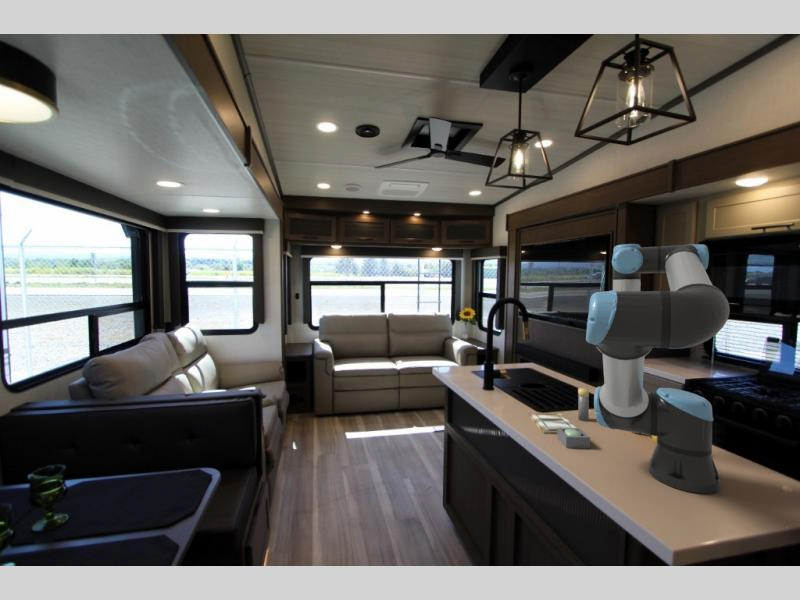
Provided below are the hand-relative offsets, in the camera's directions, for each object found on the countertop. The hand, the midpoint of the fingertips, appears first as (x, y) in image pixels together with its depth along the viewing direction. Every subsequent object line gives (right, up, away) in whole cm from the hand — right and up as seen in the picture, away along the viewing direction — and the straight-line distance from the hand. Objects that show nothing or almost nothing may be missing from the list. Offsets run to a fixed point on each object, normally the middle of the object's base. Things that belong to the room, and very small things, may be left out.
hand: (625, 364), depth 116 cm
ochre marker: (-1, -26, +24) cm, 35 cm away
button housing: (-16, -27, +3) cm, 31 cm away
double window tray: (-15, -26, +20) cm, 36 cm away
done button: (-16, -27, +3) cm, 31 cm away
